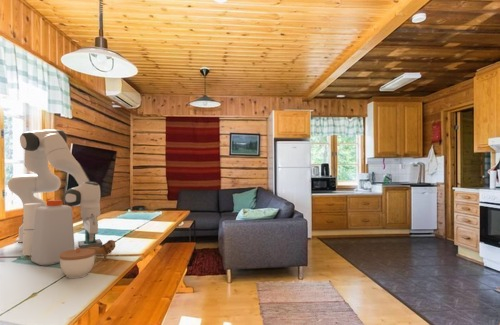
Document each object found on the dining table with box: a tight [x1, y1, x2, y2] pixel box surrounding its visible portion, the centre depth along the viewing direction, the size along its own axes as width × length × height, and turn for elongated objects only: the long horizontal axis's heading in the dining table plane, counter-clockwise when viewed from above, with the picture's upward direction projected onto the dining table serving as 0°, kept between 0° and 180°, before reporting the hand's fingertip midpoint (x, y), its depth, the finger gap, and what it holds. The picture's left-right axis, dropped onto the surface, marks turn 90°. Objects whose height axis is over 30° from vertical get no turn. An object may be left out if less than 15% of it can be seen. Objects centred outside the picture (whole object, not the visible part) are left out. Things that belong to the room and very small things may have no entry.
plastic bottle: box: [30, 199, 76, 266], centre depth 142 cm, size 15×15×28 cm
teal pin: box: [84, 229, 96, 244], centre depth 156 cm, size 4×4×8 cm
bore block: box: [77, 238, 103, 249], centre depth 156 cm, size 10×10×5 cm
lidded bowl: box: [59, 247, 96, 279], centre depth 122 cm, size 13×13×11 cm
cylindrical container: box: [22, 203, 41, 256], centre depth 152 cm, size 7×7×25 cm
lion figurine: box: [87, 239, 116, 262], centre depth 141 cm, size 15×5×9 cm, turn 120°
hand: (90, 240), depth 156 cm, fingers closed on teal pin, 4 cm apart
